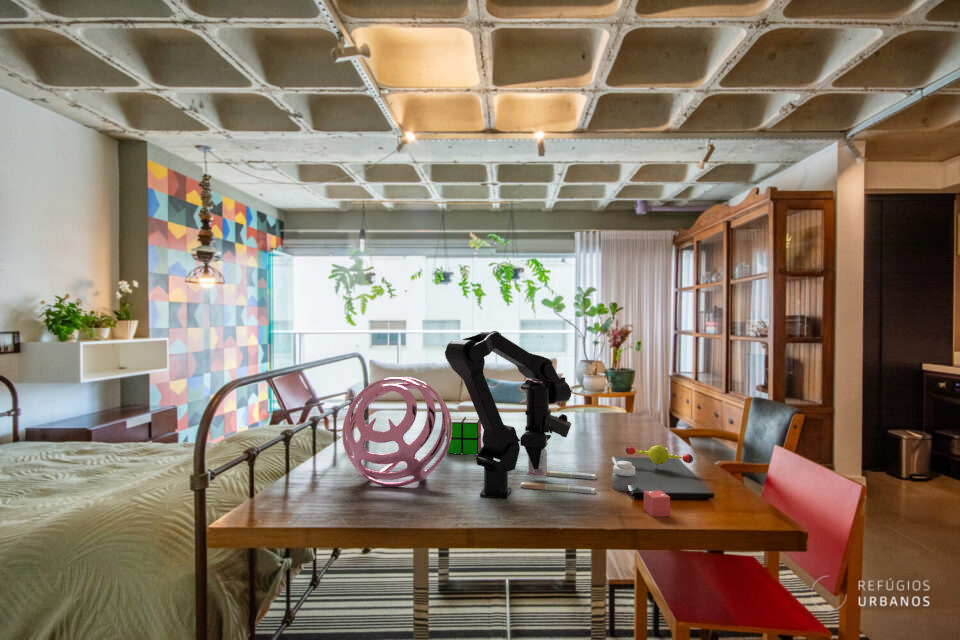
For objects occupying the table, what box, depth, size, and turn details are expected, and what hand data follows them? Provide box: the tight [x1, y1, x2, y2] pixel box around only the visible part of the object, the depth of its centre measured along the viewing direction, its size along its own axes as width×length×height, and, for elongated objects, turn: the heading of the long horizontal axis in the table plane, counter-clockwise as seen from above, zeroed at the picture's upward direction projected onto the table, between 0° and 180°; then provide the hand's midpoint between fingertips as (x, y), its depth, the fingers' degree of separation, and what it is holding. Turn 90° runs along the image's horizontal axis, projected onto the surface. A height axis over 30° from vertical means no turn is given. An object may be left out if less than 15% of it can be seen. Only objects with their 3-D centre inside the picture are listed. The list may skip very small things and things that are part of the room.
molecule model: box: [625, 444, 694, 465], centre depth 136 cm, size 18×6×7 cm, turn 58°
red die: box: [643, 490, 671, 518], centre depth 105 cm, size 4×4×4 cm
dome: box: [612, 460, 636, 476], centre depth 121 cm, size 5×5×2 cm
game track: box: [519, 469, 638, 495], centre depth 124 cm, size 13×28×3 cm, turn 76°
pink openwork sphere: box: [341, 376, 452, 488], centre depth 127 cm, size 28×28×27 cm
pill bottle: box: [527, 447, 548, 478], centre depth 126 cm, size 5×5×8 cm
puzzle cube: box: [445, 415, 482, 455], centre depth 156 cm, size 10×10×10 cm
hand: (537, 466), depth 126 cm, fingers closed on pill bottle, 5 cm apart
